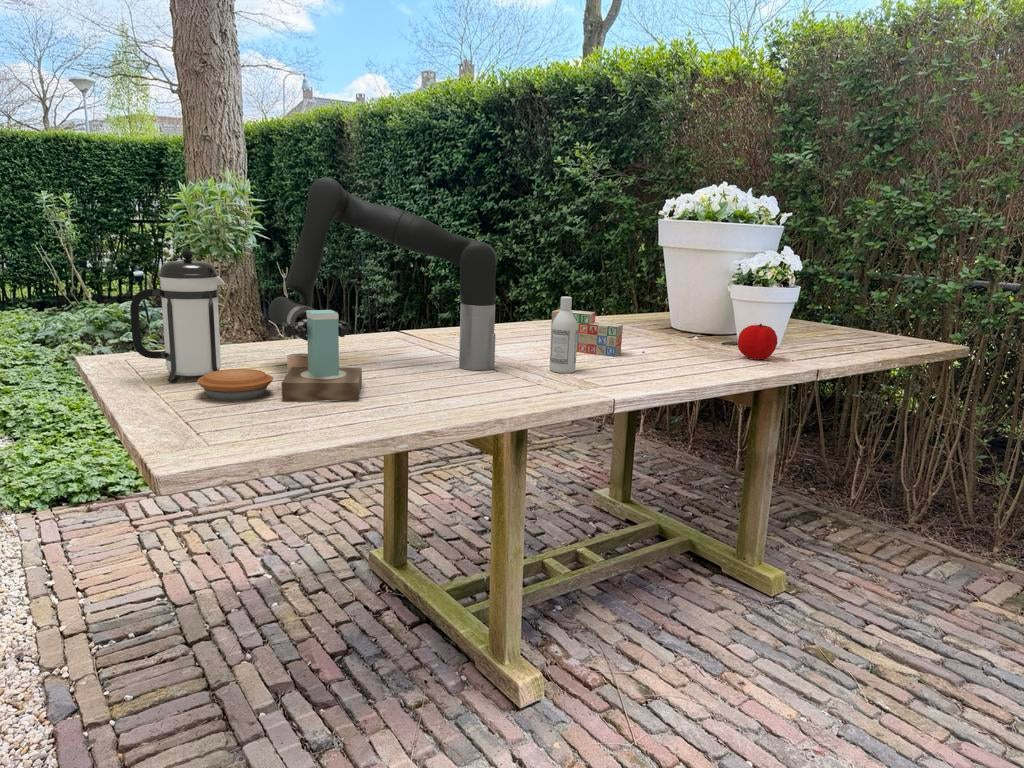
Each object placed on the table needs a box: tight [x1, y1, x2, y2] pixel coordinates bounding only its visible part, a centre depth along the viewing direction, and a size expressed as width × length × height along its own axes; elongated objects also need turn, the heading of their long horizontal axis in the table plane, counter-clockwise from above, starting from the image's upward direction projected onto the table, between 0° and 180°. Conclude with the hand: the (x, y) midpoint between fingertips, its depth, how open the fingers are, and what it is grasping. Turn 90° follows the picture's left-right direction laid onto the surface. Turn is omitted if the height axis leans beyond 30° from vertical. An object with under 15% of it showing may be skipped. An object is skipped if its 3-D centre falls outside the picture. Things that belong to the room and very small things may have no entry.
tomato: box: [737, 323, 778, 360], centre depth 227 cm, size 12×12×11 cm
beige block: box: [286, 352, 308, 373], centre depth 176 cm, size 6×6×6 cm
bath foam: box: [549, 296, 578, 374], centre depth 196 cm, size 7×7×20 cm
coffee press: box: [129, 249, 226, 384], centre depth 171 cm, size 17×16×30 cm
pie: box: [197, 368, 274, 402], centre depth 161 cm, size 15×16×5 cm
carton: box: [306, 309, 340, 377], centre depth 163 cm, size 6×6×14 cm
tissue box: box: [281, 366, 363, 402], centre depth 165 cm, size 16×16×4 cm
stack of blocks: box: [550, 308, 624, 357], centre depth 227 cm, size 21×6×12 cm, turn 65°
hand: (324, 333), depth 162 cm, fingers open, 8 cm apart
